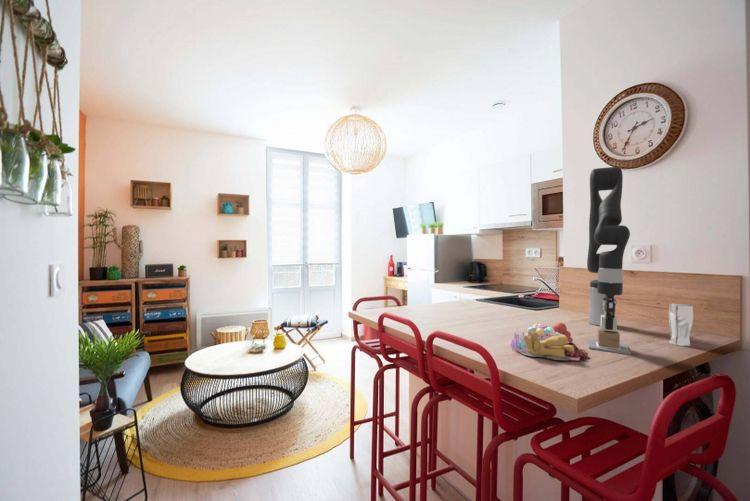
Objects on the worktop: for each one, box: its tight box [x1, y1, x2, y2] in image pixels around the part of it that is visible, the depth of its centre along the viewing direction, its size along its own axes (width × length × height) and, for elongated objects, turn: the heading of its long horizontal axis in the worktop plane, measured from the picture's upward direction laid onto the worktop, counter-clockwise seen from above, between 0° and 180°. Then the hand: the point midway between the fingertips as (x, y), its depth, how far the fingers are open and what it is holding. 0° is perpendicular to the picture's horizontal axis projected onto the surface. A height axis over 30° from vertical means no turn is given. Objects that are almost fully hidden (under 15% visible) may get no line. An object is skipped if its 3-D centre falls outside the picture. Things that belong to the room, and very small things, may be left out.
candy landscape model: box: [510, 322, 589, 361], centre depth 120 cm, size 25×24×9 cm
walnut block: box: [597, 328, 621, 349], centre depth 124 cm, size 6×6×5 cm
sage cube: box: [600, 315, 618, 331], centre depth 124 cm, size 4×4×4 cm
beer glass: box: [668, 302, 694, 347], centre depth 130 cm, size 7×7×15 cm
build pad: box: [587, 338, 632, 356], centre depth 124 cm, size 12×12×1 cm
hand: (608, 327), depth 124 cm, fingers closed on sage cube, 4 cm apart
